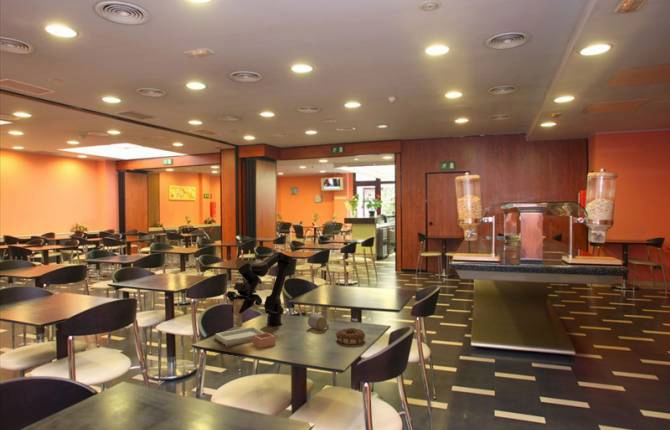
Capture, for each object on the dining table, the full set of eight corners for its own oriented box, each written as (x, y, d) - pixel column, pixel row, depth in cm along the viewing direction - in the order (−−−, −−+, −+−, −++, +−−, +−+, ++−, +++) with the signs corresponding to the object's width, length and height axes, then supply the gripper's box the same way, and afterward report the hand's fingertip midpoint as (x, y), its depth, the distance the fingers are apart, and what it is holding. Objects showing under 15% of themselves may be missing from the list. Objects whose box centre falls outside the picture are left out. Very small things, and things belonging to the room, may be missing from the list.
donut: (368, 338, 206) (368, 328, 205) (360, 347, 193) (360, 336, 193) (340, 335, 210) (340, 325, 210) (331, 343, 197) (331, 333, 197)
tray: (253, 331, 216) (253, 326, 215) (266, 338, 204) (266, 333, 204) (215, 338, 204) (215, 333, 203) (227, 346, 192) (227, 340, 192)
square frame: (267, 340, 201) (267, 332, 201) (275, 344, 195) (275, 336, 195) (253, 343, 196) (253, 335, 196) (260, 348, 190) (260, 339, 190)
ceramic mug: (317, 331, 215) (317, 316, 215) (307, 328, 222) (307, 313, 222) (332, 328, 223) (332, 313, 223) (322, 325, 229) (322, 311, 229)
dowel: (242, 324, 204) (242, 299, 203) (241, 326, 200) (241, 300, 199) (233, 325, 203) (233, 299, 203) (233, 327, 199) (233, 301, 199)
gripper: (228, 274, 209) (212, 301, 199) (258, 277, 200) (243, 305, 190) (238, 287, 216) (224, 314, 206) (268, 291, 207) (254, 318, 198)
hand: (235, 312), depth 200 cm, fingers closed on dowel, 4 cm apart
